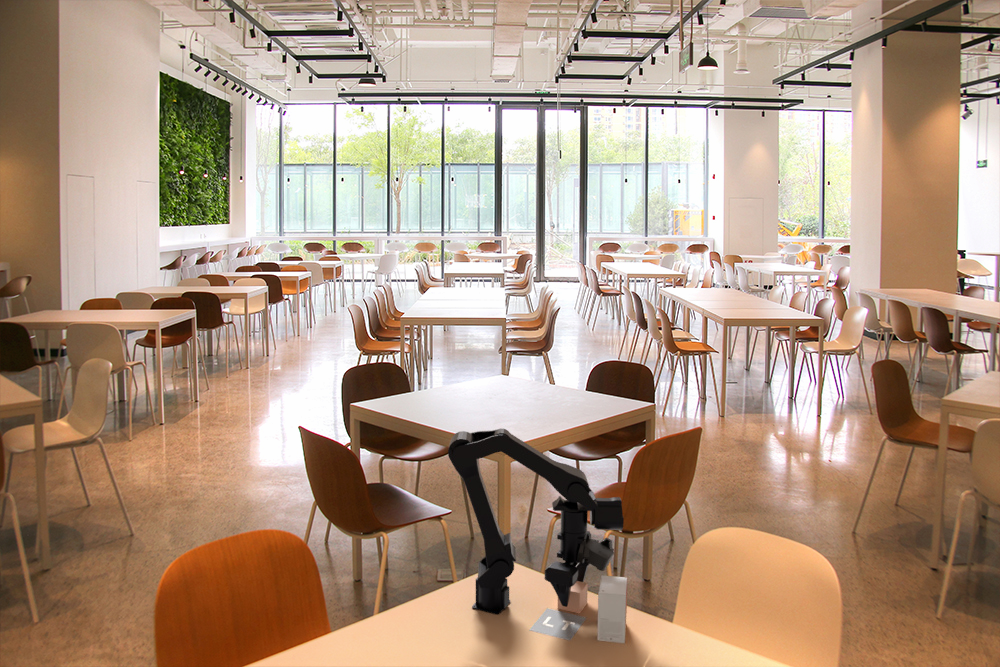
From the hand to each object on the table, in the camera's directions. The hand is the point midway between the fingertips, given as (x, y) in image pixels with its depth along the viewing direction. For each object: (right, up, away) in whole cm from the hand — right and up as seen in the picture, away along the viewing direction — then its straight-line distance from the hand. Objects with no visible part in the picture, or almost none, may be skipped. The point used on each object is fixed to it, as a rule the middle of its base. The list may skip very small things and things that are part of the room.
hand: (572, 596), depth 168 cm
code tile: (-4, -3, -7) cm, 9 cm away
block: (0, -2, 0) cm, 2 cm away
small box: (+7, -4, -10) cm, 13 cm away
